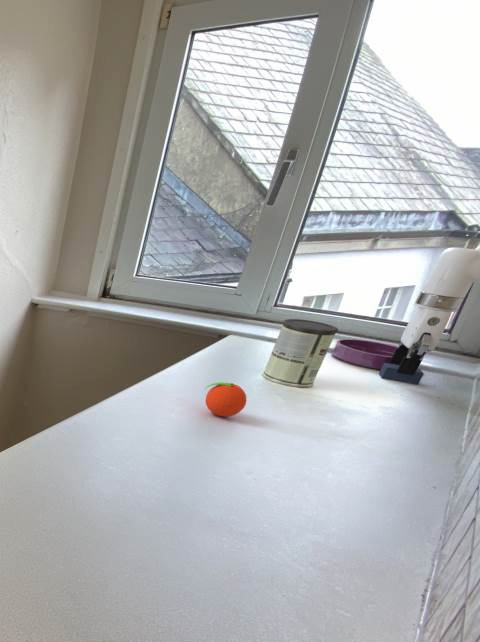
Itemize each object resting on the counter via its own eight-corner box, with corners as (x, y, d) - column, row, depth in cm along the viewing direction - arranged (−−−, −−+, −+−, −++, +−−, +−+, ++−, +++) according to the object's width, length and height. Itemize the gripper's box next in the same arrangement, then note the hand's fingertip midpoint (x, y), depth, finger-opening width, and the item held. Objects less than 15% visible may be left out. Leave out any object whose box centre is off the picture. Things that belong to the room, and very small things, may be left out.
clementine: (196, 416, 113) (208, 384, 110) (193, 404, 118) (204, 374, 115) (241, 425, 110) (255, 392, 107) (236, 412, 115) (249, 381, 112)
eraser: (414, 379, 140) (420, 368, 139) (418, 384, 137) (424, 373, 136) (378, 373, 144) (384, 362, 142) (381, 378, 140) (387, 367, 139)
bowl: (404, 361, 155) (411, 347, 153) (417, 377, 142) (425, 363, 140) (327, 348, 163) (333, 335, 162) (333, 362, 151) (340, 348, 149)
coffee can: (265, 369, 142) (287, 316, 136) (314, 380, 136) (340, 325, 130) (258, 378, 136) (281, 323, 129) (309, 391, 129) (336, 333, 123)
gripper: (469, 311, 123) (428, 381, 131) (449, 299, 136) (413, 364, 144) (425, 305, 127) (387, 374, 135) (410, 293, 140) (376, 357, 148)
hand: (400, 368), depth 139 cm, fingers open, 9 cm apart
